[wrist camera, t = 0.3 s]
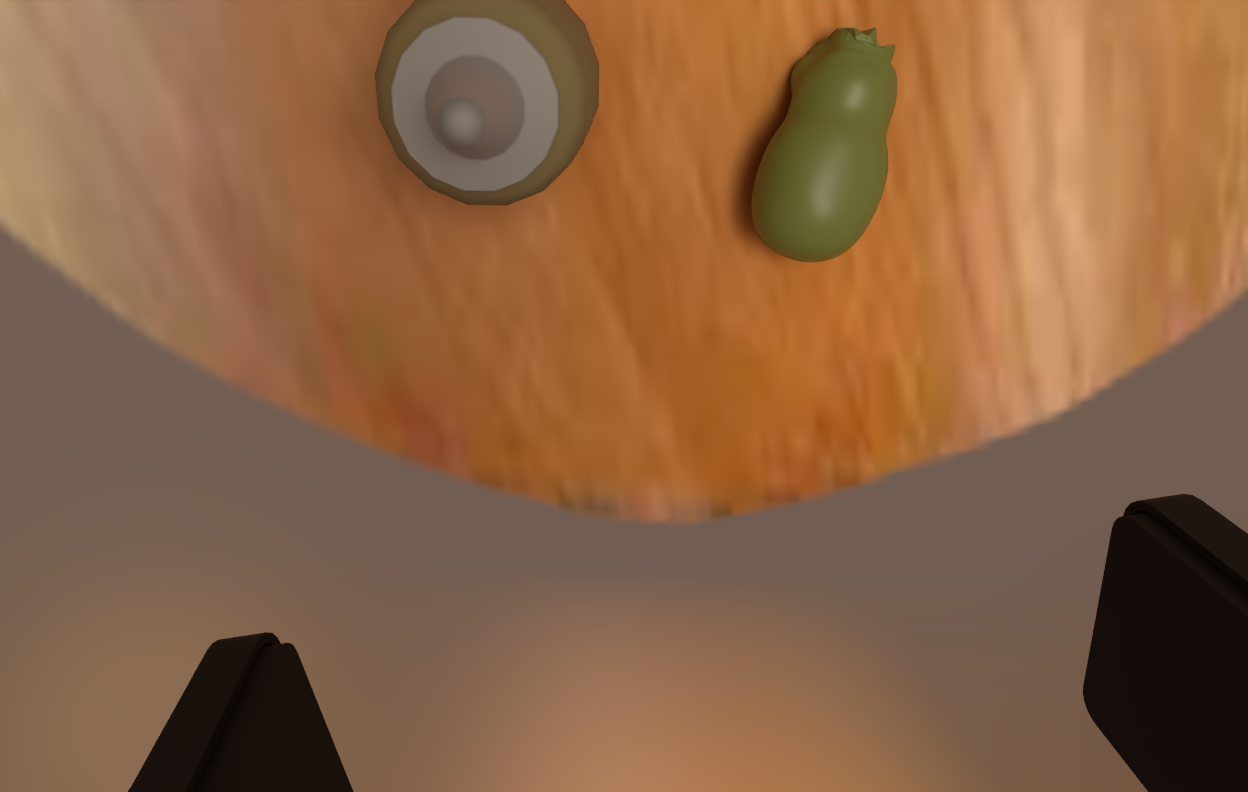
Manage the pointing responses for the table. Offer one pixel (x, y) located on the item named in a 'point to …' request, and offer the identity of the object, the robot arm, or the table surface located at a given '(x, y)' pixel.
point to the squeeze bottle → (487, 95)
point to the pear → (828, 149)
